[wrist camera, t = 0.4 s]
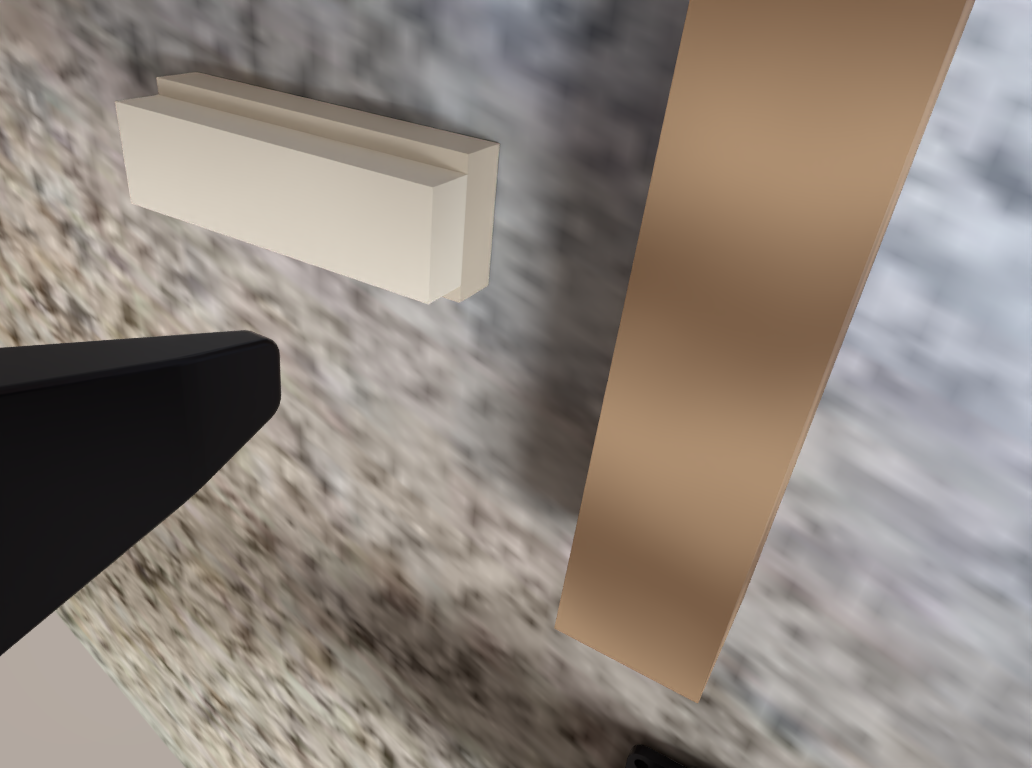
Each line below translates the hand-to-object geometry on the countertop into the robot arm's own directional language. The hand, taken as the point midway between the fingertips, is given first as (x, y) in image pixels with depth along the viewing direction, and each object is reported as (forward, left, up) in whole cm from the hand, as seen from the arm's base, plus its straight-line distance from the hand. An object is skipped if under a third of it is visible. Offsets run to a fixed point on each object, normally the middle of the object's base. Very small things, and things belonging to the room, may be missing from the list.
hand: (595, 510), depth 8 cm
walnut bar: (-1, +1, -12) cm, 12 cm away
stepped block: (-2, +14, -12) cm, 18 cm away
